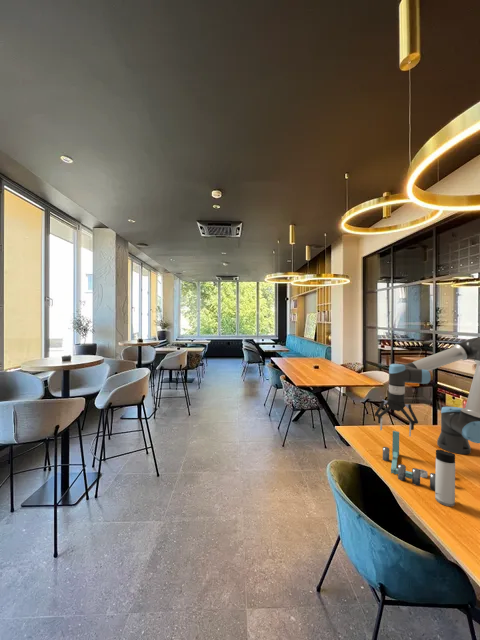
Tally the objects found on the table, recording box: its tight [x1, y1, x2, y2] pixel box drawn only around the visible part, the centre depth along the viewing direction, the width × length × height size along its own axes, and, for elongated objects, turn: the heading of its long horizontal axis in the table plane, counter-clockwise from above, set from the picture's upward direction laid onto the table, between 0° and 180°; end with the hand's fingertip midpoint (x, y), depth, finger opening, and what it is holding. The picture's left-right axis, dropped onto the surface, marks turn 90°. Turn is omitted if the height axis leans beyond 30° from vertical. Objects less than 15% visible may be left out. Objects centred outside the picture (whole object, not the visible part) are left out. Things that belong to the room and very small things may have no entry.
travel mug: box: [434, 449, 456, 507], centre depth 110 cm, size 6×7×20 cm
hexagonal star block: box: [418, 468, 429, 479], centre depth 129 cm, size 4×5×2 cm
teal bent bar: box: [390, 430, 412, 480], centre depth 138 cm, size 24×10×12 cm, turn 148°
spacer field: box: [382, 446, 436, 492], centre depth 130 cm, size 26×20×6 cm
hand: (395, 432), depth 149 cm, fingers open, 13 cm apart
